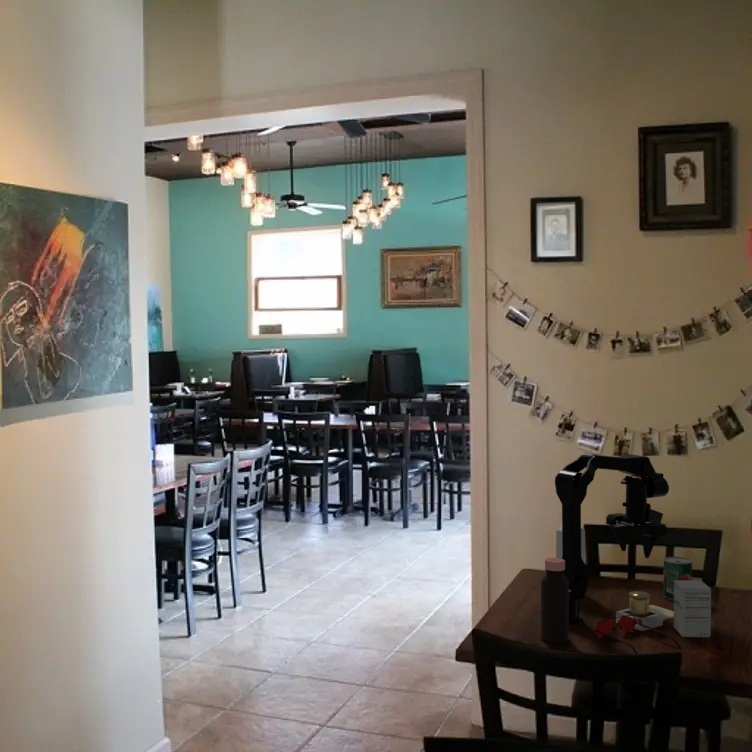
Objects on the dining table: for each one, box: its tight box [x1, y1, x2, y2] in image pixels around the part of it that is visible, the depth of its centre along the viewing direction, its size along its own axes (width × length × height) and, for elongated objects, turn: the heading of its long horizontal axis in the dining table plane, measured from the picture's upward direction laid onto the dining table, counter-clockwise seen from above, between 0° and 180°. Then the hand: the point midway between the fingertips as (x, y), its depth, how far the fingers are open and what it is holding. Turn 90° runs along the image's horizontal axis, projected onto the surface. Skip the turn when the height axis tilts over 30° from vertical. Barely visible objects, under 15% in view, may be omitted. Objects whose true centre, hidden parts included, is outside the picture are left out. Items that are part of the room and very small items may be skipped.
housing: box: [615, 607, 664, 632], centre depth 237 cm, size 8×8×3 cm
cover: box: [628, 590, 651, 618], centre depth 237 cm, size 5×5×8 cm
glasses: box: [592, 615, 683, 655], centre depth 223 cm, size 14×16×5 cm
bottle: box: [540, 557, 570, 644], centre depth 226 cm, size 7×7×20 cm
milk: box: [555, 523, 586, 592], centre depth 265 cm, size 6×6×22 cm
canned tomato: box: [662, 556, 693, 602], centre depth 261 cm, size 8×8×11 cm
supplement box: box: [673, 579, 712, 638], centre depth 230 cm, size 7×7×13 cm
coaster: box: [649, 604, 674, 622], centre depth 246 cm, size 10×10×1 cm
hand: (635, 554), depth 255 cm, fingers open, 9 cm apart
